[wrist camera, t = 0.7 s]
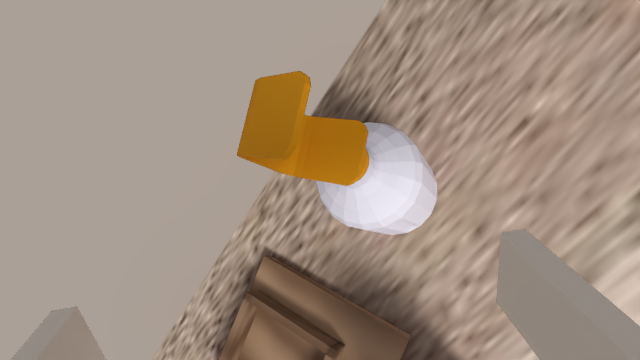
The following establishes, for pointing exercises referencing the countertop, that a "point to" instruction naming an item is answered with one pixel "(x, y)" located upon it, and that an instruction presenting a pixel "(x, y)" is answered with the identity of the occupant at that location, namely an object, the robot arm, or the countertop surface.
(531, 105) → the countertop surface
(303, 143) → the soap bottle
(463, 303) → the countertop surface
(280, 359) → the caddy
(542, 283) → the robot arm
